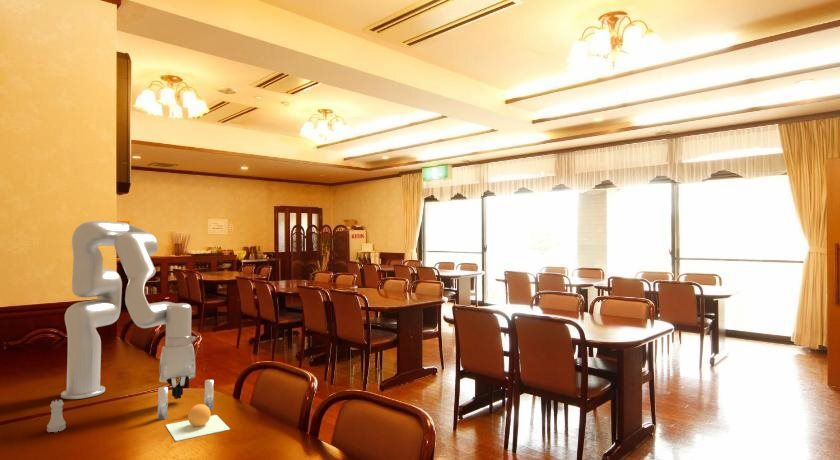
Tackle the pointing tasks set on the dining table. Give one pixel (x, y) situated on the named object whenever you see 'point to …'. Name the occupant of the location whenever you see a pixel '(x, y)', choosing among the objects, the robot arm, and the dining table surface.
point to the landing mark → (196, 428)
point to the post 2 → (209, 393)
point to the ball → (199, 415)
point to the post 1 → (162, 402)
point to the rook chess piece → (56, 417)
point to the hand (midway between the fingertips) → (177, 397)
